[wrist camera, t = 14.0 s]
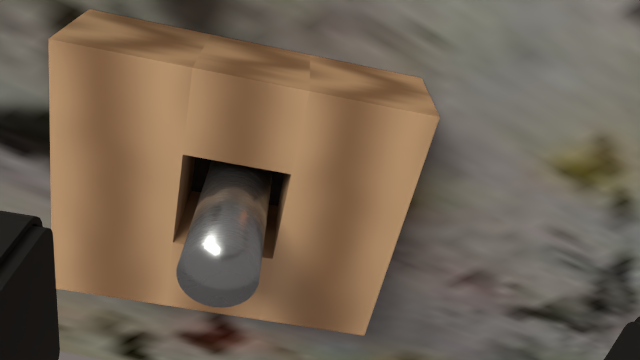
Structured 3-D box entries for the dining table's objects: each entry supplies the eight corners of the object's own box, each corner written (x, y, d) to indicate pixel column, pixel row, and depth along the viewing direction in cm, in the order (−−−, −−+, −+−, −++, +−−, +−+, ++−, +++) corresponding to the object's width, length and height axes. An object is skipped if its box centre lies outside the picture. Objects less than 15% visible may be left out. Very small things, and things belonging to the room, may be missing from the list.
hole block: (421, 77, 36) (439, 117, 31) (358, 277, 44) (364, 335, 38) (89, 9, 34) (48, 38, 28) (85, 232, 41) (52, 287, 36)
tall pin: (278, 139, 38) (265, 250, 27) (268, 191, 40) (252, 313, 29) (217, 127, 37) (180, 236, 27) (210, 180, 39) (172, 300, 29)
